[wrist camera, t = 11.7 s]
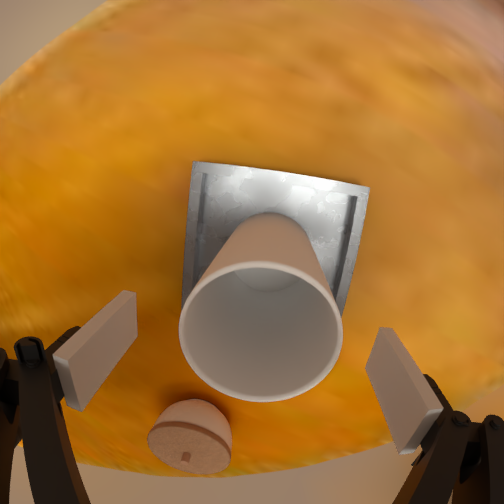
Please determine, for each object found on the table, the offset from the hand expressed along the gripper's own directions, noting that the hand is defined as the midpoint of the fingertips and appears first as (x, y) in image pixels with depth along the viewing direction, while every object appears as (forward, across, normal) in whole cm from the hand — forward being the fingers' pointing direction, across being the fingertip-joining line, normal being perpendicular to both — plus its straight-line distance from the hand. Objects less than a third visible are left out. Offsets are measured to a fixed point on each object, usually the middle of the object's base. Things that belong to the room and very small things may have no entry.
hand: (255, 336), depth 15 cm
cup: (+15, 0, 0) cm, 15 cm away
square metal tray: (+16, +1, 0) cm, 16 cm away
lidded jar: (+17, -5, -25) cm, 30 cm away
